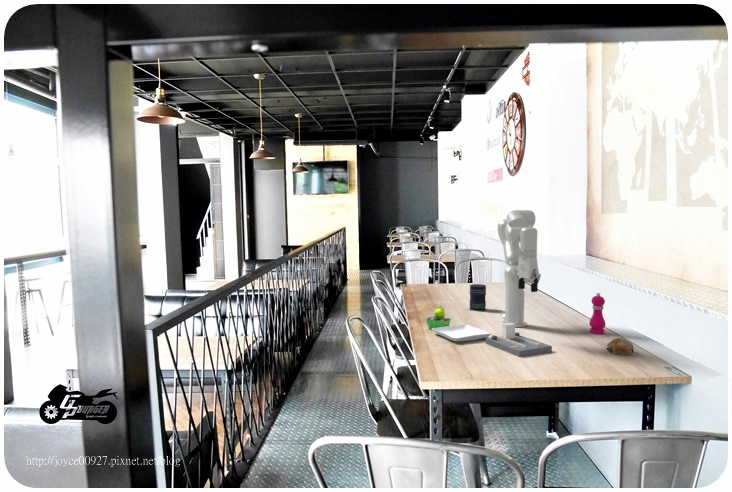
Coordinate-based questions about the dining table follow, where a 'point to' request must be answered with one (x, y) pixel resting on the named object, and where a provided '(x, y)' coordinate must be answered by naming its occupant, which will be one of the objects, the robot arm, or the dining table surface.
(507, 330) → the block
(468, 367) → the dining table surface
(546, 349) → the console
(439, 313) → the fruit basket
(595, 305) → the pepper mill
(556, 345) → the dining table surface
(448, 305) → the dining table surface
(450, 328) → the salad plate
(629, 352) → the bread roll
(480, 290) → the storage jar
